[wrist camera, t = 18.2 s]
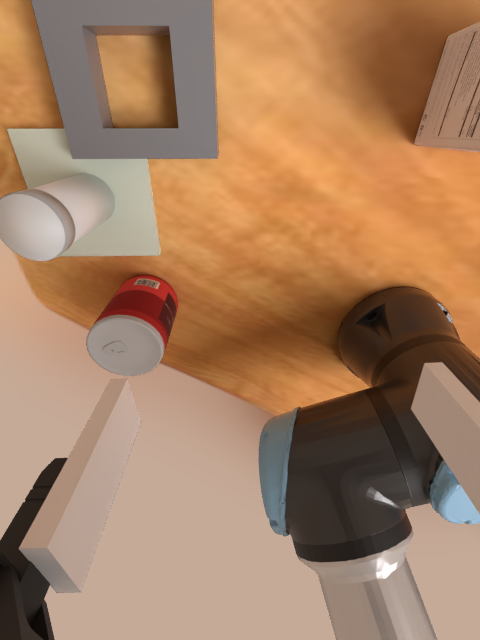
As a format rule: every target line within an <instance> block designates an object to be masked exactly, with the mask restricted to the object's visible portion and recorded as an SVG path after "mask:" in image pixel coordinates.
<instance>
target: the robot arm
mask: <svg viewBox="0 0 480 640" xmlns="http://www.w3.org/2000/svg"><path fill="white" fill-rule="evenodd" d="M337 346H338V350H339V353H340V355H341V357H342V359H343V361H344V363H345V365H346V366H347V368H348V369H349V370H350V371H351V372H352V373H353V374H355V375H356V376H357V377H359V378H360V379H361V380H362V381H364V382H365V383H366V384H367V385H368V386H369V387H370V388H369V389H365V390H361V391H358V392H354V393H351V394H348V395H344V396H341V397H337V398H334V399H330V400H327V401H323V402H320V403H316V404H313V405H309V406H306V407H303V408H301V407H297V408H295V409H294V410H293V411H290V412H287V413H284V414H281V415H279V416H276V417H273V418H271V419H270V420H268V421H267V423H266V424H265V426H264V427H263V430H262V432H261V436H260V443H259V475H260V484H261V492H262V497H263V503H264V507H265V511H266V515H267V517H268V518H269V520H270V526H271V528H272V529H273V531H274V532H275V533H276V534H280V535H283V536H288V535H289V534H290V535H291V536H292V539H293V543H294V547H295V551H296V554H297V557H298V559H299V560H300V561H301V562H303V563H304V564H306V565H307V566H308V567H310V568H311V569H313V570H314V571H315V572H316V573H317V574H318V577H319V580H320V584H321V587H322V591H323V595H324V598H325V601H326V605H327V609H328V612H329V616H330V619H331V623H332V626H333V630H334V634H335V636H336V640H437V637H436V634H435V632H434V629H433V627H432V624H431V621H430V619H429V616H428V614H427V611H426V608H425V606H424V603H423V600H422V598H421V595H420V592H419V590H418V587H417V585H416V582H415V580H414V577H413V574H412V571H411V569H410V566H409V564H408V561H407V558H406V556H405V555H406V550H407V548H408V546H409V543H410V541H411V539H412V537H413V529H412V526H411V524H410V521H409V519H408V516H407V514H406V511H405V509H407V508H410V507H414V506H418V505H423V504H428V503H431V505H432V507H433V509H434V510H435V511H436V512H437V513H439V514H440V515H441V516H442V517H443V518H444V519H445V520H447V521H449V522H453V523H456V524H461V523H463V522H464V523H467V524H476V523H480V359H479V358H478V357H477V356H476V355H475V354H474V353H473V352H472V351H471V350H469V349H468V348H467V347H466V346H465V345H464V344H463V343H462V342H461V340H460V338H459V335H458V333H457V330H456V328H455V326H454V325H453V322H452V319H451V316H450V314H449V312H448V310H447V309H446V308H445V306H444V305H443V304H442V303H441V302H439V301H438V300H437V299H436V298H435V297H433V296H432V295H431V294H429V293H428V292H426V291H423V290H421V289H417V288H411V287H398V288H391V289H387V290H383V291H381V292H378V293H376V294H373V295H371V296H369V297H368V298H366V299H364V300H363V301H361V302H360V303H359V304H358V305H356V306H355V307H354V308H353V309H352V310H351V311H350V312H349V314H348V315H347V316H346V317H345V319H344V321H343V322H342V324H341V326H340V329H339V332H338V337H337ZM140 424H141V419H140V416H139V413H138V410H137V407H136V403H135V400H134V397H133V394H132V391H131V388H130V385H129V381H128V379H111V380H110V382H109V384H108V386H107V388H106V389H105V391H104V393H103V395H102V397H101V399H100V400H99V402H98V404H97V406H96V408H95V409H94V411H93V413H92V415H91V417H90V419H89V420H88V422H87V424H86V426H85V428H84V430H83V431H82V433H81V435H80V437H79V439H78V441H77V443H76V444H75V446H74V448H73V450H72V452H71V454H70V455H69V457H68V458H56V459H54V460H53V461H52V462H51V463H50V464H49V465H48V466H47V467H46V468H45V469H44V470H43V471H42V472H41V474H40V476H39V477H38V479H37V480H36V482H35V484H34V485H33V489H32V490H30V492H29V494H28V496H27V497H26V499H25V502H23V504H22V505H21V507H20V509H19V510H18V512H17V514H16V515H15V517H14V519H13V520H12V522H11V524H10V525H9V527H8V529H7V530H6V532H5V534H4V535H3V537H2V539H1V540H0V640H54V635H53V631H52V626H51V622H50V617H49V613H48V608H47V604H46V602H45V600H44V597H45V595H46V593H47V590H48V588H49V586H50V585H51V587H52V588H53V589H54V590H55V592H56V593H75V592H81V591H82V589H83V586H84V583H85V580H86V578H87V575H88V572H89V569H90V566H91V563H92V560H93V558H94V555H95V552H96V549H97V546H98V543H99V541H100V538H101V535H102V532H103V529H104V526H105V524H106V521H107V518H108V515H109V512H110V509H111V506H112V504H113V501H114V498H115V495H116V492H117V490H118V486H119V484H120V481H121V478H122V475H123V472H124V470H125V467H126V464H127V461H128V458H129V455H130V452H131V450H132V447H133V444H134V441H135V438H136V436H137V433H138V430H139V427H140Z"/></svg>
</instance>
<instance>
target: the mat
mask: <svg viewBox="0 0 480 640" xmlns="http://www.w3.org/2000/svg"><path fill="white" fill-rule="evenodd" d="M7 131H8V134H9V137H10V140H11V142H12V145H13V148H14V151H15V154H16V157H17V160H18V163H19V166H20V169H21V171H22V174H23V177H24V180H25V183H26V186H27V189H32V188H35V187H39V186H42V185H46V184H49V183H52V182H56V181H59V180H62V179H66V178H69V177H73V176H76V175H79V174H92V175H95V176H97V177H99V178H100V179H102V180H103V181H104V182H105V183H106V184H107V185H108V186H109V187H110V189H111V191H112V193H113V195H114V199H115V209H114V212H113V214H112V215H111V216H110V218H108V219H107V220H106V221H104V222H103V223H101V224H100V225H99V226H97V227H96V228H95V229H93V230H92V231H90V232H89V233H88V234H86V235H85V236H83V237H82V238H81V239H79V240H78V241H76V242H75V243H74V244H72V245H71V247H70V248H69V249H67V250H66V251H65V252H63V253H62V254H61V255H59V256H160V254H161V247H160V241H159V234H158V227H157V220H156V213H155V206H154V199H153V192H152V185H151V178H150V171H149V164H148V159H72V156H71V152H70V148H69V144H68V140H67V137H66V133H65V129H7Z"/></svg>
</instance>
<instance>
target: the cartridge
mask: <svg viewBox="0 0 480 640" xmlns="http://www.w3.org/2000/svg"><path fill="white" fill-rule="evenodd" d="M114 209H115V199H114V195H113V193H112V191H111V189H110V187H109V186H108V185H107V184H106V183H105V182H104V181H103V180H102V179H100V178H99V177H97V176H95V175H92V174H79V175H76V176H73V177H69V178H66V179H62V180H59V181H56V182H52V183H49V184H46V185H42V186H39V187H35V188H32V189H24V190H20V191H16V192H13V193H10V194H7V195H4V196H3V197H1V198H0V238H1V239H2V241H3V242H4V243H5V244H6V245H7V246H8V247H9V248H10V249H11V250H12V251H14V252H15V253H17V254H18V255H20V256H22V257H24V258H27V259H30V260H35V261H49V260H52V259H55V258H56V257H58V256H59V255H61V254H62V253H63V252H65V251H66V250H67V249H69V248H70V247H71V245H72V244H74V243H75V242H76V241H78V240H79V239H81V238H82V237H83V236H85V235H86V234H88V233H89V232H90V231H92V230H93V229H95V228H96V227H97V226H99V225H100V224H101V223H103V222H104V221H106V220H107V219H108V218H110V216H111V215H112V214H113V212H114Z"/></svg>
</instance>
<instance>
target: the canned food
mask: <svg viewBox="0 0 480 640" xmlns="http://www.w3.org/2000/svg"><path fill="white" fill-rule="evenodd" d="M177 308H178V300H177V296H176V294H175V292H174V290H173V288H172V287H171V286H170V285H169V284H168V283H167V282H166V281H164V280H162V279H160V278H158V277H155V276H151V275H141V276H137V277H134V278H131V279H129V280H128V281H126V282H125V283H124V284H123V285H122V286H121V287H120V289H119V290H118V291H117V293H116V294H115V295H114V297H113V298H112V300H111V301H110V302H109V304H108V305H107V306H106V308H105V309H104V311H103V312H102V313H101V315H100V316H99V317H98V319H97V320H96V322H95V323H94V325H93V326H92V328H91V329H90V331H89V333H88V336H87V342H86V345H87V350H88V352H89V354H90V356H91V357H92V359H93V360H94V361H95V362H96V363H97V364H98V365H99V366H101V367H102V368H104V369H106V370H108V371H110V372H112V373H116V374H120V375H126V376H135V375H141V374H144V373H147V372H149V371H151V370H152V369H154V368H155V367H156V366H157V365H158V364H159V363H160V361H161V359H162V357H163V355H164V352H165V349H166V346H167V342H168V339H169V336H170V332H171V329H172V326H173V322H174V319H175V316H176V312H177Z"/></svg>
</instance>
